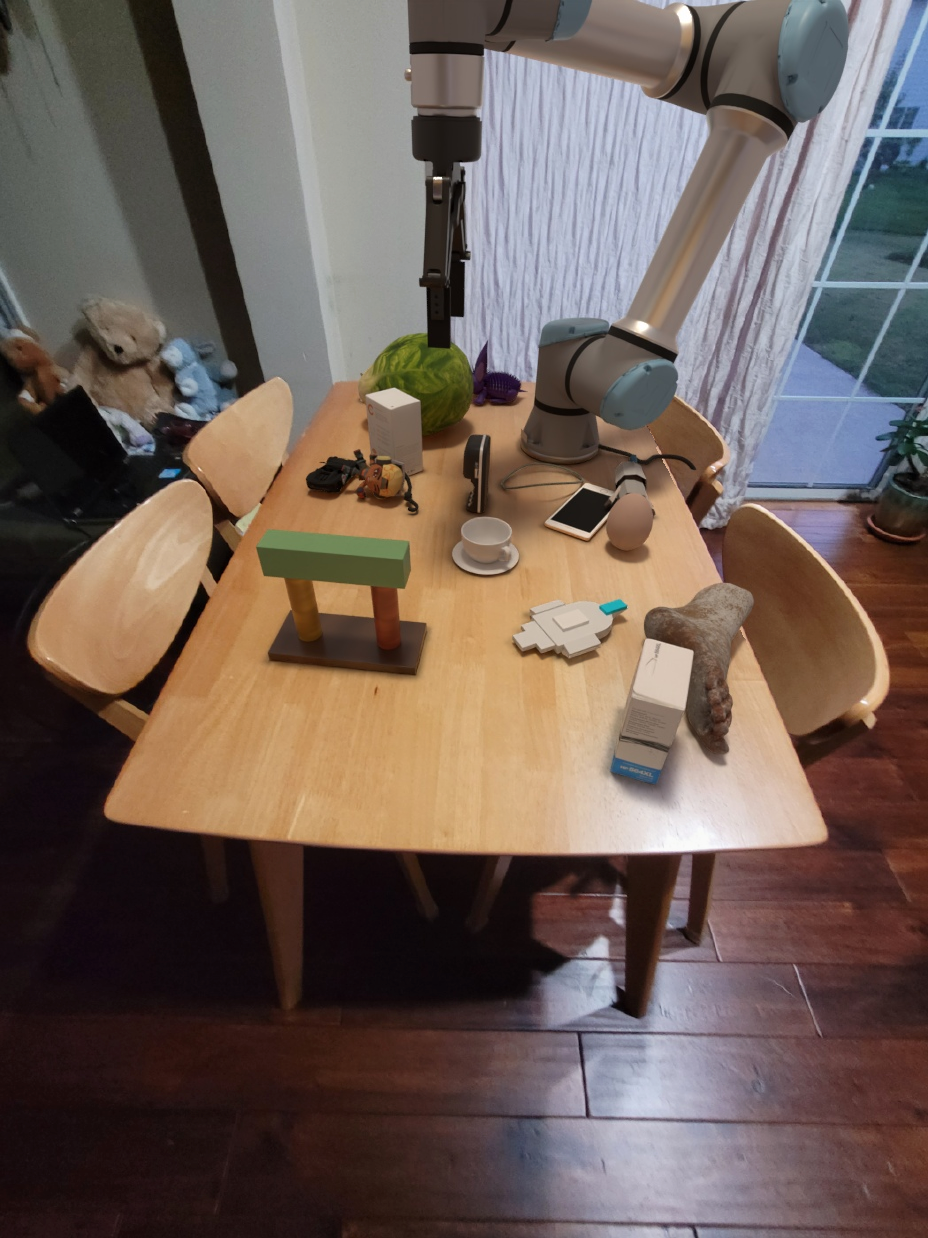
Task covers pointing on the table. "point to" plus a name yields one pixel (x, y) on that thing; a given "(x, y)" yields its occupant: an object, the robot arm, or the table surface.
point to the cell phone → (583, 512)
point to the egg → (629, 522)
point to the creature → (493, 382)
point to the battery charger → (477, 470)
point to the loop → (541, 483)
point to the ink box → (652, 710)
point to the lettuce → (424, 379)
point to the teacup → (485, 546)
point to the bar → (335, 558)
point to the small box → (396, 427)
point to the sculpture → (705, 653)
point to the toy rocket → (568, 626)
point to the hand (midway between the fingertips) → (447, 330)
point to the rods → (348, 634)
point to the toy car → (330, 475)
